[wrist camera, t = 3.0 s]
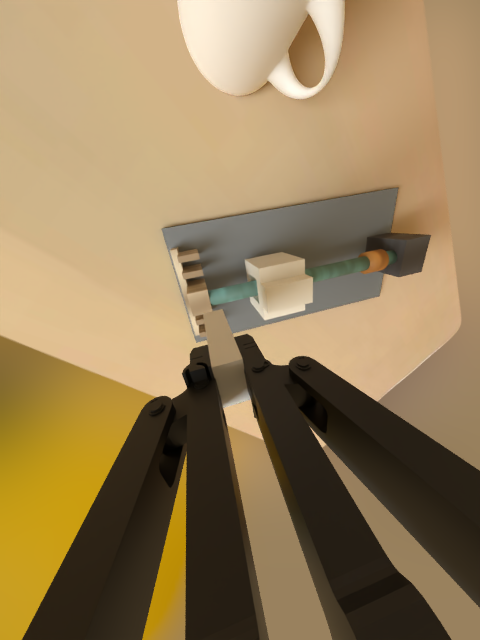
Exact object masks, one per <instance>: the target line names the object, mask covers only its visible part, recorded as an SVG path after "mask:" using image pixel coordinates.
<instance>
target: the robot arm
mask: <svg viewBox="0 0 480 640" xmlns="http://www.w3.org/2000/svg"><path fill="white" fill-rule="evenodd" d="M203 318H204V324H205V330H206V336H207V342H208V345H205V346H201V347H197V348H193V350H192V351H191V353H190V364H189V365H188V366H186V368H185V369H184V370H183V373H182V375H183V378H184V380H185V383H186V386H187V389H186V390H185V391H184V392H183V393H182V394H180V395H179V396H177V397H175V398H173V399H172V400H171V398H169V397H167V396H160V397H156V398H154V399H153V400H151V401H149V402H148V403H147V404H146V405H145V406H144V408H143V409H142V410H141V412H140V414H139V416H138V418H137V420H136V422H135V424H134V426H133V428H132V430H131V432H130V433H129V435H128V437H127V439H126V441H125V443H124V445H123V447H122V449H121V451H120V453H119V455H118V457H117V458H116V460H115V462H114V464H113V466H112V468H111V470H110V472H109V474H108V476H107V478H106V480H105V481H104V483H103V485H102V487H101V489H100V491H99V493H98V495H97V497H96V499H95V501H94V503H93V504H92V506H91V508H90V510H89V512H88V514H87V516H86V518H85V520H84V522H83V524H82V526H81V528H80V530H79V531H78V533H77V535H76V537H75V539H74V541H73V543H72V545H71V547H70V549H69V551H68V552H67V554H66V556H65V558H64V560H63V562H62V564H61V566H60V568H59V570H58V572H57V574H56V576H55V577H54V579H53V582H52V583H51V585H50V587H49V589H48V591H47V593H46V595H45V597H44V599H43V601H42V602H41V604H40V606H39V608H38V610H37V612H36V614H35V616H34V618H33V620H32V622H31V624H30V625H29V627H28V630H27V631H26V633H25V635H24V637H23V639H22V640H142V638H143V633H144V628H145V625H146V621H147V616H148V612H149V607H150V604H151V599H152V595H153V591H154V587H155V582H156V578H157V574H158V570H159V566H160V561H161V557H162V553H163V549H164V545H165V540H166V536H167V532H168V527H169V523H170V519H171V515H172V511H173V506H174V502H175V498H176V494H177V490H178V485H179V481H180V477H181V472H182V469H183V464H184V460H185V456H186V452H187V482H186V489H187V490H186V494H187V495H186V626H185V627H186V630H185V633H186V634H185V637H186V638H185V640H269V638H268V633H267V627H266V623H265V617H264V612H263V607H262V603H261V597H260V592H259V587H258V581H257V576H256V571H255V566H254V561H253V556H252V551H251V546H250V541H249V536H248V530H247V525H246V520H245V515H244V510H243V505H242V500H241V494H240V489H239V484H238V479H237V474H236V469H235V464H234V459H233V454H232V448H231V444H230V438H229V433H228V428H227V423H226V418H225V414H224V410H223V408H225V407H228V406H231V405H235V404H238V403H241V402H244V401H248V400H250V398H251V401H252V407H253V412H254V417H255V418H256V419H257V422H258V425H259V427H260V430H261V433H262V436H263V439H264V442H265V444H266V447H267V450H268V453H269V456H270V459H271V462H272V464H273V467H274V470H275V473H276V476H277V479H278V482H279V485H280V487H281V490H282V493H283V496H284V499H285V502H286V505H287V507H288V510H289V513H290V516H291V519H292V522H293V525H294V528H295V530H296V533H297V536H298V539H299V542H300V545H301V548H302V551H303V553H304V556H305V559H306V562H307V565H308V568H309V571H310V574H311V576H312V579H313V582H314V585H315V587H316V591H317V593H318V596H319V599H320V602H321V605H322V608H323V611H324V613H325V617H326V620H327V623H328V626H329V629H330V633H331V636H332V640H451V638H450V637H449V635H448V634H447V632H446V630H445V629H444V627H443V626H442V624H441V622H440V621H439V620H438V618H437V616H436V615H435V613H434V612H433V611H432V609H431V608H430V606H429V605H428V603H427V602H426V600H425V599H424V598H423V596H422V595H421V594H420V593H419V591H418V590H417V589H416V588H415V586H414V585H413V584H412V583H411V582H410V581H409V580H407V579H406V578H405V577H404V576H403V575H402V574H401V573H399V572H398V571H397V569H396V568H395V567H394V566H393V564H392V563H391V561H390V560H389V558H388V557H387V555H386V554H385V552H384V550H383V549H382V547H381V545H380V544H379V542H378V540H377V539H376V537H375V535H374V534H373V532H372V530H371V529H370V527H369V525H368V524H367V522H366V520H365V519H364V517H363V515H362V514H361V512H360V510H359V509H358V507H357V505H356V504H355V502H354V500H353V499H352V497H351V495H350V494H349V492H348V490H347V489H346V487H345V485H344V484H343V482H342V480H341V479H340V477H339V475H338V474H337V472H336V470H335V469H334V467H333V465H332V464H331V462H330V460H329V459H328V457H327V455H326V454H325V452H324V450H323V449H322V447H321V445H320V444H319V442H318V440H317V439H316V437H315V435H314V434H313V432H312V430H313V431H314V432H315V433H316V434H317V435H318V436H319V437H320V438H321V439H322V440H323V441H324V442H325V443H326V444H327V445H328V446H329V448H330V449H331V450H332V451H333V452H334V453H335V454H336V455H337V456H338V457H339V458H340V459H341V460H342V461H343V463H345V465H346V466H347V467H348V468H349V469H350V470H351V471H352V472H353V473H354V474H355V475H356V476H357V477H358V479H359V480H360V481H361V482H362V483H363V484H364V485H365V486H366V487H367V488H368V489H369V490H370V491H371V492H372V493H373V494H374V495H375V497H376V498H377V499H378V500H379V501H380V502H381V503H382V504H383V505H384V506H385V507H386V508H387V509H388V510H389V512H390V513H391V514H392V515H393V516H394V517H395V518H396V519H397V520H398V521H399V522H400V523H401V524H402V525H403V526H404V528H405V529H406V530H407V531H408V532H409V533H410V534H411V535H412V536H413V537H414V538H415V539H416V540H417V541H418V542H419V543H420V545H421V546H422V547H423V548H424V549H425V550H426V551H427V552H428V553H429V554H430V555H431V556H432V557H433V558H434V559H435V561H436V562H437V563H438V564H439V565H440V566H441V567H442V568H443V569H444V570H445V571H446V572H447V573H448V574H449V575H450V576H451V577H452V579H453V580H454V581H455V582H456V583H457V584H458V585H459V586H460V587H461V588H462V589H463V590H464V591H465V592H466V594H467V595H468V596H469V597H470V598H471V599H472V600H473V601H474V602H475V603H476V604H477V605H478V606H479V607H480V471H479V470H478V469H476V468H475V467H473V466H472V465H470V464H469V463H467V462H465V461H464V460H463V459H461V458H460V457H458V456H457V455H455V454H453V453H452V452H451V451H449V450H448V449H446V448H445V447H444V446H442V445H441V444H439V443H438V442H436V441H434V440H433V439H432V438H430V437H429V436H427V435H426V434H424V433H423V432H421V431H420V430H418V429H417V428H415V427H414V426H412V425H411V424H409V423H408V422H406V421H405V420H403V419H402V418H400V417H399V416H397V415H396V414H394V413H393V412H391V411H390V410H388V409H387V408H385V407H384V406H382V405H381V404H380V403H378V402H377V401H375V400H374V399H372V398H371V397H369V396H368V395H366V394H365V393H363V392H362V391H360V390H359V389H357V388H356V387H354V386H353V385H351V384H350V383H348V382H347V381H345V380H344V379H342V378H341V377H339V376H338V375H336V374H335V373H333V372H332V371H330V370H329V369H327V368H326V367H324V366H323V365H321V364H320V363H318V362H317V361H316V360H314V359H312V358H310V357H306V356H298V357H295V358H293V359H292V360H290V362H289V365H283V366H279V365H273V364H271V362H270V361H268V360H266V359H265V358H264V356H263V355H262V353H261V351H260V349H259V348H258V346H257V344H256V343H255V341H254V339H253V337H251V336H250V335H248V334H245V335H241V336H237V337H233V334H232V332H231V329H230V327H229V324H228V322H227V319H226V317H225V314H224V312H223V310H222V309H220V310H216V311H212V312H207V313H203ZM309 426H310V427H311V428H312V430H311V429H310V427H309Z"/></svg>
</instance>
